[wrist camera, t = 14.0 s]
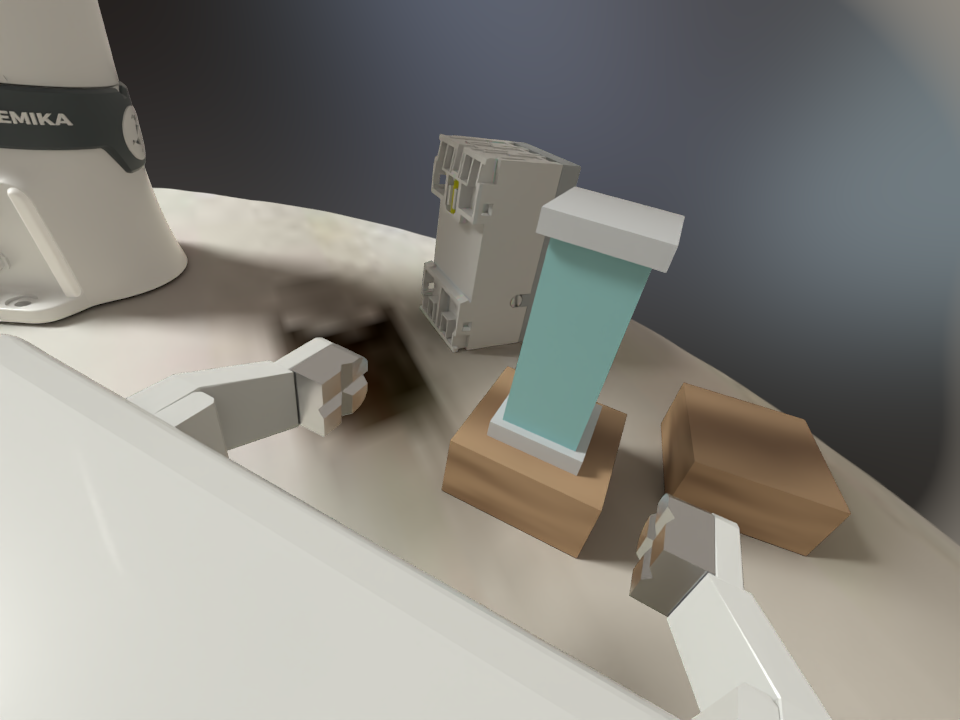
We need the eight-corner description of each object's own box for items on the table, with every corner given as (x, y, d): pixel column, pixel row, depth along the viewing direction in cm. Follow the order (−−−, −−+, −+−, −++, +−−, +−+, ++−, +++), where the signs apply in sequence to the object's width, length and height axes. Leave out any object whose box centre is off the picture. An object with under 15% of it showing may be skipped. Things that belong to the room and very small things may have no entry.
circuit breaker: (583, 331, 42) (640, 170, 34) (452, 352, 36) (482, 158, 27) (541, 296, 48) (581, 148, 39) (419, 308, 41) (436, 133, 32)
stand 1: (576, 558, 22) (601, 511, 20) (441, 490, 24) (450, 440, 22) (605, 458, 29) (627, 414, 26) (496, 411, 31) (507, 366, 28)
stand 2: (806, 556, 25) (851, 514, 23) (665, 506, 26) (694, 461, 24) (772, 459, 31) (804, 419, 29) (660, 423, 33) (683, 382, 30)
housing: (576, 475, 22) (677, 245, 15) (486, 435, 23) (541, 206, 16) (597, 418, 25) (684, 216, 19) (519, 386, 27) (574, 186, 20)
